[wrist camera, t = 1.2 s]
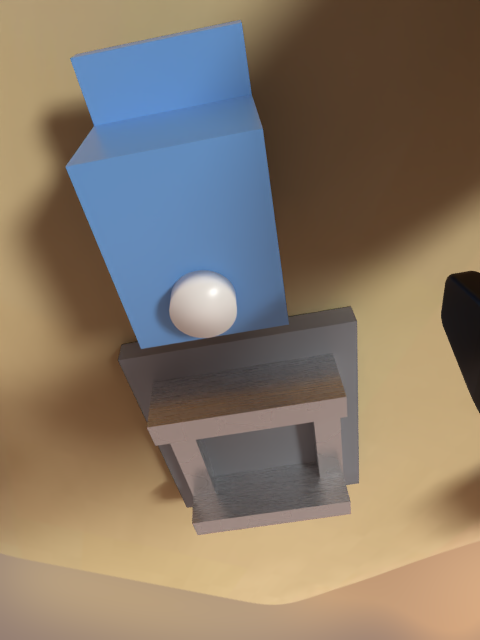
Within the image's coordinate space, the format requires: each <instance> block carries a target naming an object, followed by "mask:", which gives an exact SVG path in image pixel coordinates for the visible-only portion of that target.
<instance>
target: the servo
mask: <svg viewBox="0 0 480 640" xmlns="http://www.w3.org/2000/svg"><path fill="white" fill-rule="evenodd" d="M70 59H71V62H72V65H73V68H74V70H75V73H76V76H77V79H78V82H79V84H80V87H81V90H82V93H83V96H84V99H85V101H86V104H87V107H88V110H89V113H90V115H91V118H92V121H93V124H94V127H93V128H92V130H91V131H90V133H89V134H88V135H87V137H86V138H85V140H84V141H83V142H82V144H81V145H80V147H79V148H78V150H77V151H76V152H75V154H74V155H73V157H72V158H71V160H70V161H69V162H68V164H67V165H66V169H67V172H68V174H69V177H70V179H71V182H72V184H73V186H74V189H75V191H76V194H77V196H78V198H79V201H80V203H81V206H82V208H83V210H84V213H85V215H86V218H87V220H88V222H89V225H90V227H91V230H92V232H93V234H94V237H95V239H96V242H97V244H98V246H99V249H100V251H101V254H102V256H103V258H104V261H105V263H106V266H107V268H108V271H109V273H110V275H111V278H112V280H113V283H114V285H115V287H116V290H117V292H118V295H119V297H120V299H121V302H122V304H123V307H124V309H125V311H126V314H127V316H128V319H129V321H130V323H131V326H132V328H133V331H134V333H135V335H136V338H137V340H138V343H139V345H140V348H141V349H144V348H150V347H156V346H162V345H168V344H174V343H180V342H186V341H192V340H198V339H204V338H210V337H216V336H222V335H228V334H235V333H241V332H247V331H253V330H259V329H265V328H271V327H277V326H283V325H289V321H288V314H287V306H286V299H285V291H284V284H283V276H282V269H281V261H280V254H279V246H278V239H277V231H276V224H275V216H274V209H273V201H272V194H271V186H270V179H269V171H268V164H267V156H266V149H265V141H264V134H263V128H262V124H261V121H260V118H259V115H258V112H257V109H256V106H255V103H254V100H253V97H252V92H251V85H250V78H249V71H248V64H247V57H246V50H245V43H244V36H243V29H242V22H241V20H237V21H232V22H228V23H223V24H218V25H213V26H209V27H204V28H199V29H194V30H190V31H185V32H180V33H175V34H171V35H166V36H161V37H156V38H152V39H147V40H142V41H137V42H133V43H128V44H123V45H118V46H113V47H109V48H104V49H99V50H94V51H90V52H85V53H80V54H76V55H75V56H73V57H72V58H70Z"/></svg>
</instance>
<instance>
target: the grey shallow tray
mask: <svg viewBox="0 0 480 640" xmlns="http://www.w3.org/2000/svg"><path fill="white" fill-rule="evenodd" d="M288 321H289V325H283V326H277V327H271V328H265V329H259V330H253V331H247V332H241V333H235V334H228V335H222V336H216V337H210V338H204V339H198V340H192V341H186V342H180V343H174V344H168V345H162V346H156V347H150V348H144V349H141V348H140V345H139V343H138V342H134V343H128V344H122V345H121V349H120V354H119V358H118V361H119V364H120V366H121V368H122V370H123V372H124V374H125V376H126V379H127V381H128V383H129V385H130V387H131V389H132V391H133V393H134V396H135V398H136V400H137V402H138V404H139V406H140V408H141V411H142V413H143V415H144V417H145V419H146V421H147V429H148V431H149V433H150V435H151V438H152V440H153V442H154V444H155V446H158V447H159V449H160V451H161V453H162V455H163V458H164V460H165V462H166V464H167V466H168V468H169V470H170V472H171V475H172V477H173V479H174V481H175V483H176V485H177V487H178V490H179V492H180V494H181V496H182V498H183V500H184V502H185V504H186V507H187V508H188V507H193V517H192V524H193V526H194V528H195V530H196V532H197V535H201V534H208V533H216V532H223V531H230V530H238V529H245V528H252V527H259V526H267V525H274V524H281V523H288V522H296V521H303V520H310V519H317V518H325V517H332V516H339V515H346V514H351V507H350V498H349V495H348V491H347V487H346V485H350V484H357V483H359V447H358V365H357V320H356V317H355V315H354V313H353V310H352V308H351V306H350V307H344V308H338V309H332V310H326V311H320V312H314V313H308V314H302V315H296V316H290V317H288Z"/></svg>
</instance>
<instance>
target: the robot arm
mask: <svg viewBox="0 0 480 640" xmlns="http://www.w3.org/2000/svg"><path fill="white" fill-rule="evenodd" d="M441 319H442V324H443V327H444V330H445V332H446V335H447V337H448V340H449V342H450V345H451V347H452V350H453V352H454V355H455V357H456V360H457V362H458V365H459V367H460V370H461V373H462V375H463V378H464V380H465V383H466V385H467V388H468V390H469V392H470V395H471V397H472V399H473V401H474V403H475V405H476V407H477V409H478V411H479V413H480V273H479V272H476V271H467V272H461V273H455V274H451V275H450V276H448V277H447V279H446V282H445V289H444V296H443V303H442V311H441Z"/></svg>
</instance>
